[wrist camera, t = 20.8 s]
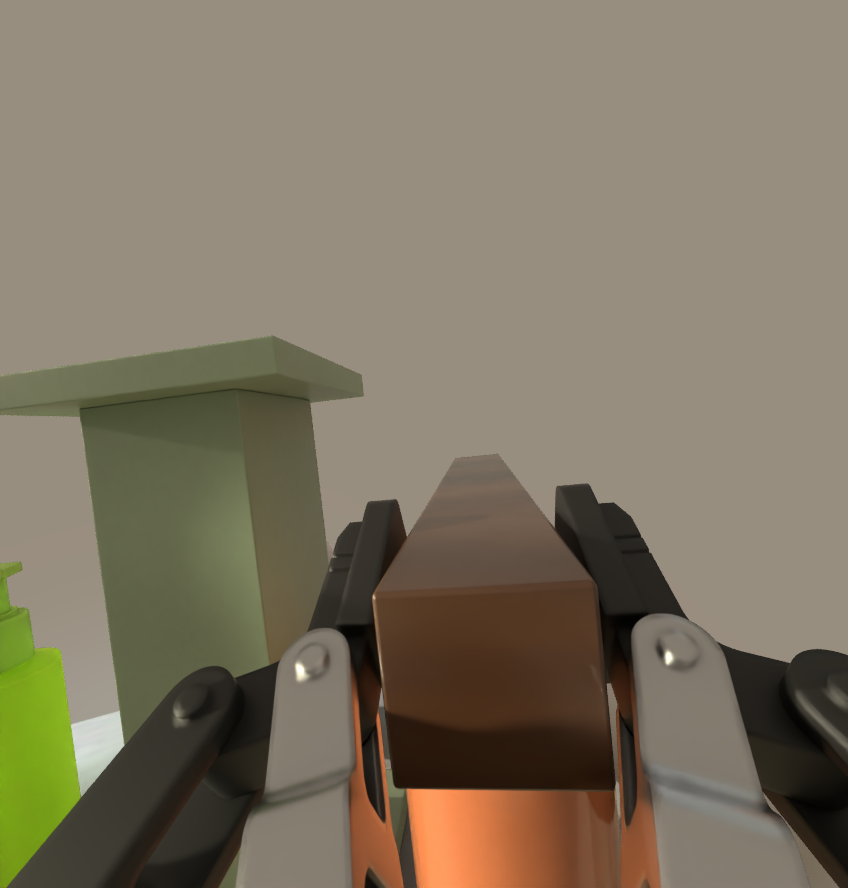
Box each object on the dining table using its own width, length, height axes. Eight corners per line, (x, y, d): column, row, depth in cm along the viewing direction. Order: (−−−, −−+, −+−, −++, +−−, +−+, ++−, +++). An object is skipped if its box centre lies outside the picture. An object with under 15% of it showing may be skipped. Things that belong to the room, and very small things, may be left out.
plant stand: (353, 1118, 15) (259, 328, 14) (37, 1079, 17) (-66, 377, 16) (411, 788, 29) (365, 376, 28) (233, 786, 31) (184, 399, 30)
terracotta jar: (390, 1047, 17) (334, 570, 16) (478, 848, 25) (443, 517, 24) (626, 1266, 12) (562, 601, 11) (646, 934, 20) (608, 522, 19)
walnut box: (618, 796, 6) (598, 582, 5) (392, 792, 6) (369, 594, 6) (502, 494, 29) (498, 453, 29) (459, 498, 30) (454, 458, 30)
